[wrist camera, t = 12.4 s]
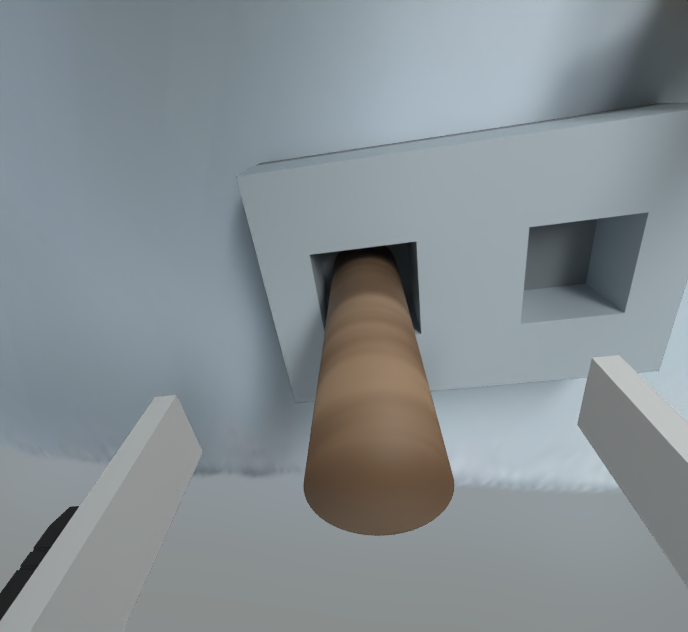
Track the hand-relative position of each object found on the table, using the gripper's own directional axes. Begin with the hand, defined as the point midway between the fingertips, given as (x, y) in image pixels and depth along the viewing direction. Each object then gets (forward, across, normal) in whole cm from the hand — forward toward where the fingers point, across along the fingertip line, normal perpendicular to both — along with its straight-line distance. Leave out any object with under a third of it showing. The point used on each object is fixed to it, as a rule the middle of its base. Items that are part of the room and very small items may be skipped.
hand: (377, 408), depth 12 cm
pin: (+13, 0, 0) cm, 13 cm away
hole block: (+14, +5, 0) cm, 15 cm away
